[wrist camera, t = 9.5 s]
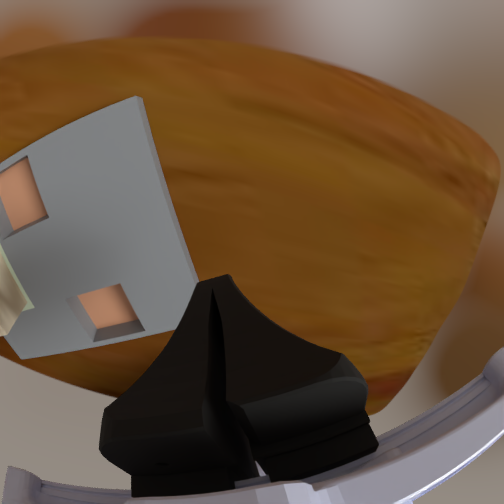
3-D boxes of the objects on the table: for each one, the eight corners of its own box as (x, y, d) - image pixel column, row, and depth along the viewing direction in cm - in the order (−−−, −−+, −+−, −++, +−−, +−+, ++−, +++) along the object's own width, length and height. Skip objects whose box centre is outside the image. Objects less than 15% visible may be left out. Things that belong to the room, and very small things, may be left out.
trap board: (207, 304, 23) (209, 320, 21) (27, 346, 21) (21, 359, 20) (142, 97, 15) (135, 95, 13) (-48, 204, 14) (-61, 212, 12)
